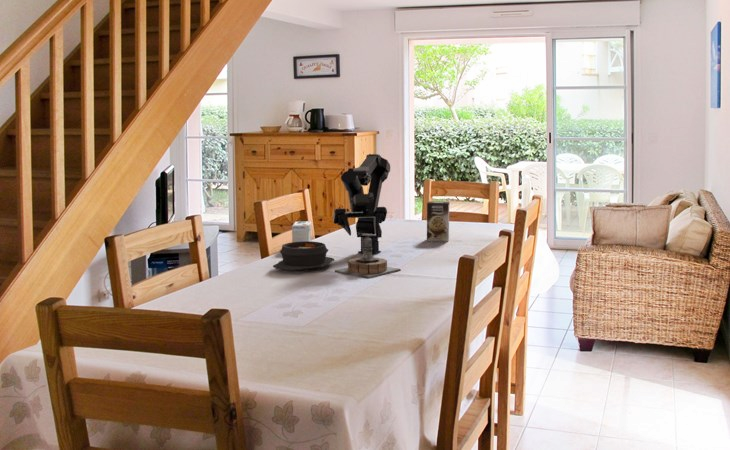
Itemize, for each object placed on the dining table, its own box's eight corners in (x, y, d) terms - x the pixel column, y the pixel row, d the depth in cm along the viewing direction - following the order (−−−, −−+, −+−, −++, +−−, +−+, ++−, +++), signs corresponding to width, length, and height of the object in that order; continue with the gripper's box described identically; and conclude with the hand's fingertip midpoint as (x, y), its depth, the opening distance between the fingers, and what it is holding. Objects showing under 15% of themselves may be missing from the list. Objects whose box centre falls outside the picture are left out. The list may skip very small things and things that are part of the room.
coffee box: (426, 241, 337) (426, 202, 335) (427, 238, 344) (427, 200, 341) (448, 241, 336) (448, 203, 333) (449, 239, 342) (449, 201, 340)
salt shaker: (374, 271, 276) (374, 236, 274) (357, 270, 277) (357, 236, 275) (377, 267, 282) (377, 233, 280) (360, 267, 283) (360, 233, 281)
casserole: (306, 259, 302) (305, 237, 300) (346, 265, 291) (346, 241, 290) (260, 271, 281) (259, 247, 280) (302, 277, 271) (301, 252, 269)
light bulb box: (295, 247, 327) (294, 221, 325) (312, 247, 327) (311, 220, 325) (292, 252, 317) (291, 225, 315) (309, 252, 316) (308, 224, 315)
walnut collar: (334, 271, 279) (334, 261, 278) (366, 264, 290) (366, 254, 290) (369, 278, 268) (368, 267, 267) (400, 270, 280) (400, 260, 279)
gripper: (333, 185, 285) (339, 221, 276) (385, 184, 289) (393, 219, 280) (330, 205, 294) (336, 240, 285) (381, 203, 298) (388, 238, 289)
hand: (363, 234), depth 284 cm, fingers open, 9 cm apart
